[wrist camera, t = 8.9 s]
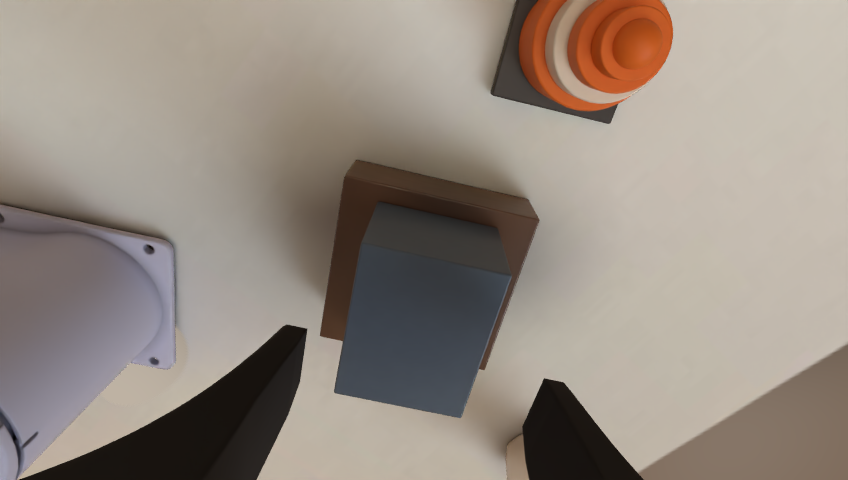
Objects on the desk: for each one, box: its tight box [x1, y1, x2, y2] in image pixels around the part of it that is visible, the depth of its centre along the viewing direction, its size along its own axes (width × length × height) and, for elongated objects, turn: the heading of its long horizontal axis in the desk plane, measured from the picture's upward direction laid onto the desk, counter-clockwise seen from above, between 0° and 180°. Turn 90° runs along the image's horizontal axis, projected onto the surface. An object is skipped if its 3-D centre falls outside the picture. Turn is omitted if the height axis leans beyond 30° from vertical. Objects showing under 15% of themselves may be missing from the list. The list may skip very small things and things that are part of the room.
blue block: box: [334, 202, 512, 418], centre depth 17 cm, size 5×6×4 cm
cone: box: [491, 0, 673, 124], centre depth 14 cm, size 5×5×7 cm
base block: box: [320, 160, 539, 370], centre depth 20 cm, size 8×8×2 cm
